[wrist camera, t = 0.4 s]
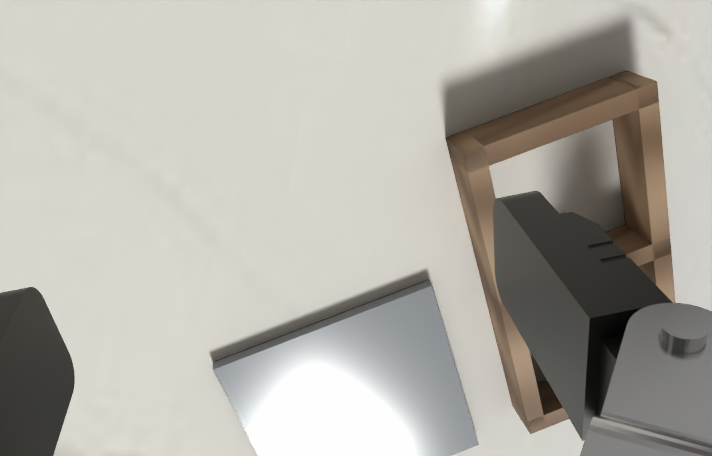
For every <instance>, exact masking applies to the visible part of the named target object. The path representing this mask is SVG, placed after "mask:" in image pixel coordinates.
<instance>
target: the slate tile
mask: <svg viewBox="0 0 712 456" xmlns="http://www.w3.org/2000/svg"><path fill="white" fill-rule="evenodd" d="M213 371H214V373H215V375H216V376H217V378H218V380H219V382H220V384H221V386H222V388H223V390H224V392H225V394H226V395H227V397H228V399H229V401H230V403H231V405H232V407H233V409H234V411H235V412H236V414H237V416H238V418H239V420H240V422H241V424H242V426H243V428H244V430H245V431H246V433H247V435H248V437H249V439H250V441H251V443H252V445H253V447H254V449H255V450H256V452H257V454H258V456H452V455H454V454H457V453H459V452H462V451H464V450H467V449H469V448H472V447H474V446H477V445H479V444H478V440H477V437H476V433H475V430H474V427H473V423H472V420H471V417H470V413H469V410H468V406H467V403H466V400H465V396H464V393H463V389H462V386H461V383H460V379H459V376H458V373H457V369H456V366H455V362H454V359H453V356H452V352H451V349H450V345H449V342H448V339H447V335H446V332H445V329H444V325H443V322H442V318H441V315H440V312H439V308H438V305H437V301H436V298H435V295H434V291H433V288H432V285H431V284H430V282H429V280H427V281H425V282H422V283H419V284H417V285H414V286H412V287H409V288H406V289H404V290H401V291H399V292H396V293H393V294H391V295H388V296H386V297H383V298H380V299H378V300H375V301H372V302H370V303H367V304H365V305H362V306H359V307H357V308H354V309H352V310H349V311H346V312H344V313H341V314H339V315H336V316H333V317H331V318H328V319H326V320H323V321H320V322H318V323H315V324H312V325H310V326H307V327H305V328H302V329H299V330H297V331H294V332H292V333H289V334H286V335H284V336H281V337H279V338H276V339H273V340H271V341H268V342H266V343H263V344H260V345H258V346H255V347H252V348H250V349H247V350H245V351H242V352H239V353H237V354H234V355H232V356H229V357H226V358H224V359H221V360H219V361H216V362H213Z"/></svg>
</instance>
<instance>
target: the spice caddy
mask: <svg viewBox="0 0 712 456" xmlns="http://www.w3.org/2000/svg"><path fill="white" fill-rule="evenodd" d="M612 119H613V124H614V132H615V141H616V149H617V157H618V166H619V174H620V183H621V191H622V199H623V208H624V216H625V224H626V225H624V226H622V227H619V228H617V229H614V230H611V231H609V232H606V234H607V235H608V236H609V237H610V238H611V239H612V240H613V243H614V244H617V245H618V246H619V247H620V248H621V249H622V250H623V251H624V252H625V253H626V257H627V258H630V259H631V260H632V261H633V262H634V263H635V264H636V265H637V266H638V267H639V268H640V269H641V270H642V271H643V272H644V273H645V274H646V275H647V276H648V277H649V278H650V279H651V280H652V282H653V283H654V284H655V285H656V286H657V287H658V288H659V289H660V290H661V291H662V292H663V293H664V294H665V295H666V296H667V297H668V298H669V299H670V300H671V301H672V302H673V303H675V292H674V280H673V268H672V256H671V244H670V232H669V219H668V207H667V195H666V183H665V171H664V159H663V147H662V135H661V123H660V111H659V99H658V87H657V81H654V80H651V79H649V78H646V77H643V76H640V75H637V74H635V73H632V72H629V71H625V72H622V73H619V74H617V75H614V76H611V77H609V78H606V79H603V80H601V81H598V82H595V83H592V84H590V85H587V86H584V87H582V88H579V89H576V90H574V91H571V92H568V93H566V94H563V95H560V96H557V97H555V98H552V99H549V100H547V101H544V102H541V103H539V104H536V105H533V106H531V107H528V108H525V109H522V110H520V111H517V112H514V113H512V114H509V115H506V116H504V117H501V118H498V119H496V120H493V121H490V122H487V123H485V124H482V125H479V126H477V127H474V128H471V129H469V130H466V131H463V132H460V133H458V134H455V135H452V136H450V137H447V138H446V142H447V146H448V150H449V154H450V158H451V162H452V166H453V170H454V174H455V178H456V182H457V186H458V190H459V193H460V197H461V201H462V205H463V209H464V213H465V217H466V221H467V225H468V229H469V233H470V237H471V241H472V245H473V249H474V253H475V257H476V261H477V265H478V269H479V273H480V277H481V281H482V285H483V289H484V293H485V297H486V301H487V305H488V309H489V313H490V317H491V321H492V325H493V329H494V333H495V337H496V341H497V345H498V349H499V353H500V357H501V361H502V365H503V369H504V373H505V377H506V381H507V385H508V389H509V393H510V397H511V401H512V405H513V407H514V409H515V411H516V412H517V414H518V415H519V417H520V418H521V420H522V422H523V423H524V425H525V426H526V428H527V429H528V431H529V432H530V434H532V433H534V432H537V431H539V430H542V429H544V428H547V427H549V426H552V425H554V424H557V423H559V422H562V421H564V420H567V419H569V417H568V415H567V413H566V412H565V410H564V408H563V407H562V405H561V403H560V401H559V400H558V398H557V396H556V395H555V393H554V391H553V389H552V388H551V386H550V384H549V382H548V381H547V380H546V381H543V382H541V383H538V384H537V382H536V378H535V373H534V369H533V364H532V360H531V355H530V351H529V348H528V346H527V345H526V343H525V341H524V339H523V338H522V336H521V334H520V333H519V331H518V329H517V327H516V326H515V324H514V322H513V321H512V319H511V317H510V315H509V314H508V312H507V310H506V308H505V307H504V305H503V303H502V300H501V298H500V295H499V292H498V288H497V284H496V278H495V263H494V231H493V205H494V201H495V199H496V198H495V194H494V189H493V185H492V180H491V176H490V171H489V167H488V166H489V165H492V164H495V163H497V162H500V161H503V160H505V159H508V158H511V157H513V156H516V155H519V154H521V153H524V152H527V151H529V150H532V149H535V148H537V147H540V146H543V145H545V144H548V143H551V142H553V141H556V140H559V139H561V138H564V137H567V136H569V135H572V134H575V133H577V132H580V131H583V130H585V129H588V128H591V127H593V126H596V125H599V124H601V123H604V122H607V121H609V120H612Z"/></svg>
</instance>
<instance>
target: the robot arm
mask: <svg viewBox="0 0 712 456" xmlns="http://www.w3.org/2000/svg"><path fill="white" fill-rule="evenodd" d="M493 231H494V263H495V278H496V284H497V288H498V292H499V295H500V298H501V300H502V303H503V305H504V307H505V308H506V310H507V312H508V314H509V315H510V317H511V319H512V321H513V322H514V324H515V326H516V327H517V329H518V331H519V333H520V334H521V336H522V338H523V339H524V341H525V343H526V345H527V346H528V348H529V350H530V351H531V353H532V355H533V357H534V358H535V360H536V362H537V364H538V365H539V367H540V369H541V370H542V372H543V374H544V376H545V377H546V379H547V381H548V382H549V384H550V386H551V388H552V389H553V391H554V393H555V395H556V396H557V398H558V400H559V401H560V403H561V405H562V407H563V408H564V410H565V412H566V413H567V415H568V417H569V419H570V420H571V422H572V424H573V425H574V427H575V429H576V431H577V432H578V434H579V436H580V438H581V439H582V441H583V440H585V441H584V445H583V448H582V451H581V455H580V456H712V312H711V311H709V310H707V309H704V308H701V307H698V306H693V305H689V304H681V303H673V302H672V301H671V300H670V299H669V298H668V297H667V296H666V295H665V294H664V293H663V292H662V291H661V290H660V289H659V288H658V287H657V286H656V285H655V284H654V283H653V282H652V280H651V279H650V278H649V277H648V276H647V275H646V274H645V273H644V272H643V271H642V270H641V269H640V268H639V267H638V266H637V265H636V264H635V263H634V262H633V261H632V260H631V259H630V258H627V257H626V253H625V252H624V251H623V250H622V249H621V248H620V247H619V246H618V245H617V244H614V243H613V240H612V239H611V238H610V237H609V236H608V235H607V234H606V233H605V232H604V231H603V230H602V229H601V227H600V226H599V225H598V224H596V223H594V222H592V221H590V220H588V219H586V218H584V217H582V216H579V215H577V214H575V213H573V212H569V213H564V214H559V213H558V212H557V211H556V210H555V209H554V208H553V207H552V205H551V204H550V203H549V202H548V201H547V200H546V199H545V197H544V196H543V195H542V194H541V193H540V192H538V191H533V192H528V193H523V194H517V195H512V196H507V197H502V198H497V199H495V201H494V205H493ZM73 390H74V368H73V363H72V360H71V357H70V354H69V352H68V350H67V348H66V345H65V343H64V341H63V339H62V337H61V335H60V333H59V330H58V328H57V326H56V324H55V322H54V320H53V317H52V315H51V313H50V311H49V309H48V307H47V305H46V302H45V300H44V298H43V296H42V295H41V293H40V292H39V291H38V290H37V289H36V288H33V287H29V288H24V289H18V290H13V291H8V292H3V293H0V456H53V454H54V451H55V448H56V444H57V441H58V438H59V435H60V432H61V429H62V425H63V422H64V419H65V416H66V413H67V410H68V406H69V403H70V400H71V397H72V394H73Z"/></svg>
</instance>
